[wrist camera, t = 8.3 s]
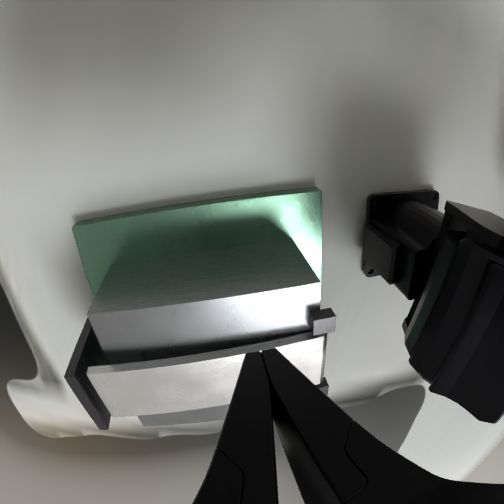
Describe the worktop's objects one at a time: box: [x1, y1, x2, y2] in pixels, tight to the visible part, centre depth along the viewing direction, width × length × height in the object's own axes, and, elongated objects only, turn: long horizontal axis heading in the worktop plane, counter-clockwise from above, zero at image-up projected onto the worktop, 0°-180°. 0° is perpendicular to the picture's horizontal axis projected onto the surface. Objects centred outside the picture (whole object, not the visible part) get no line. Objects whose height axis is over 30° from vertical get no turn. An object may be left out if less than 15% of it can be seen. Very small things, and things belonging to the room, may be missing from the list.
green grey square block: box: [64, 187, 336, 430], centre depth 19 cm, size 16×16×8 cm
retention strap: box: [87, 332, 327, 417], centre depth 17 cm, size 13×4×1 cm, turn 95°
